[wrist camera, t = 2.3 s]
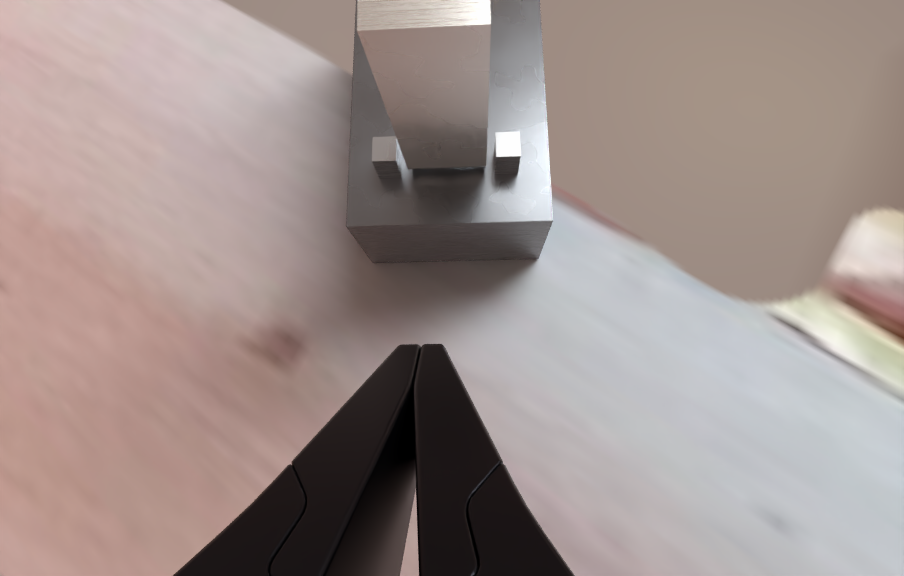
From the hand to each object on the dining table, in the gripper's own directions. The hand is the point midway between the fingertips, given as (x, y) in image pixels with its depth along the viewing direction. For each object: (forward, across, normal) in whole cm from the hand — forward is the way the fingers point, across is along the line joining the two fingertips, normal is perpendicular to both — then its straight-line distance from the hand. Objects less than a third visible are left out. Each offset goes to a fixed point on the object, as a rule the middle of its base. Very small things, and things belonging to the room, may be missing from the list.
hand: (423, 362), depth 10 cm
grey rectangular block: (+19, 0, +1) cm, 19 cm away
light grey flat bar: (+9, 0, -3) cm, 10 cm away
